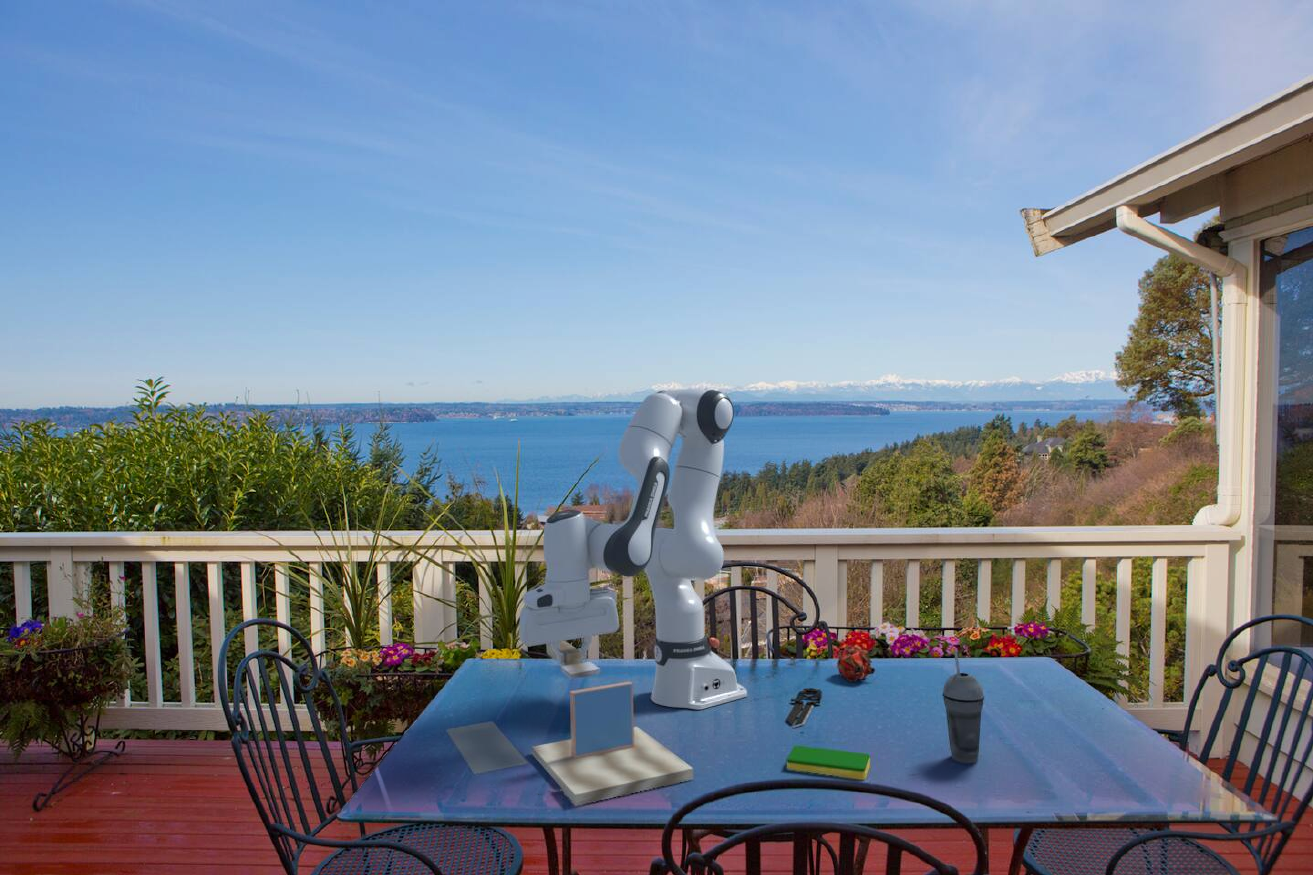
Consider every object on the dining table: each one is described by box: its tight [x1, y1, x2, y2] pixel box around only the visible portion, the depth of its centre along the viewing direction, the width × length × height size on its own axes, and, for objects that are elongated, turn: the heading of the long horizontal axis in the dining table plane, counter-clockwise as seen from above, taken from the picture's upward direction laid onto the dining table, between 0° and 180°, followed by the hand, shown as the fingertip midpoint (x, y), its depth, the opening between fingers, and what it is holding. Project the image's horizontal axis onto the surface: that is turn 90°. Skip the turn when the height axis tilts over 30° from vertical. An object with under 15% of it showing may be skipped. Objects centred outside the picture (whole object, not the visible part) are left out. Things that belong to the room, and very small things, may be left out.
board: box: [531, 726, 694, 805], centre depth 149 cm, size 22×24×2 cm
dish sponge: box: [786, 745, 871, 781], centre depth 147 cm, size 7×14×2 cm, turn 68°
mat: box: [445, 720, 529, 775], centre depth 160 cm, size 10×26×1 cm, turn 26°
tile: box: [569, 681, 635, 759], centre depth 152 cm, size 12×2×12 cm, turn 116°
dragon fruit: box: [836, 645, 876, 683], centre depth 200 cm, size 8×8×12 cm
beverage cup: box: [942, 648, 985, 764], centre depth 150 cm, size 7×7×20 cm
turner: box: [545, 640, 601, 680], centre depth 165 cm, size 6×20×3 cm, turn 25°
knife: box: [785, 687, 823, 729], centre depth 179 cm, size 25×6×1 cm, turn 155°
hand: (571, 660), depth 163 cm, fingers closed on turner, 3 cm apart
